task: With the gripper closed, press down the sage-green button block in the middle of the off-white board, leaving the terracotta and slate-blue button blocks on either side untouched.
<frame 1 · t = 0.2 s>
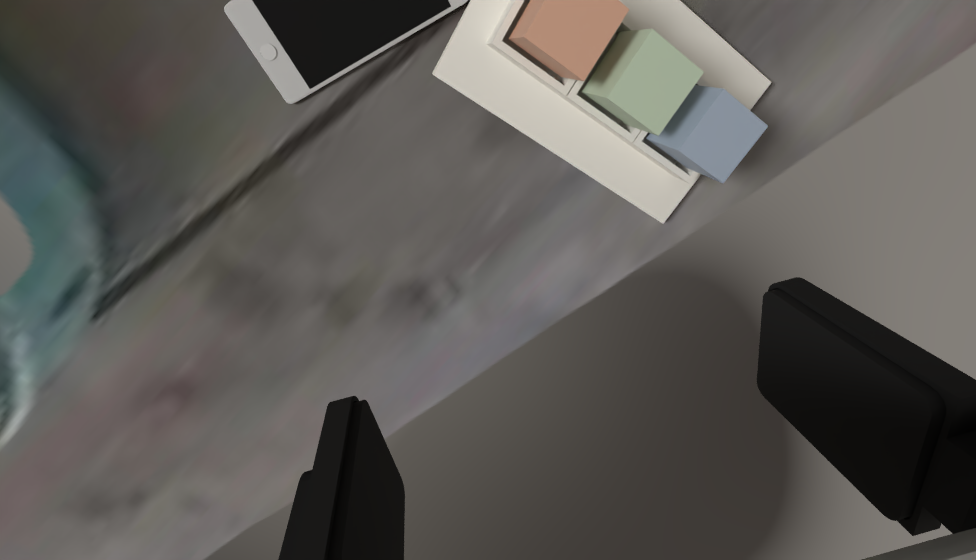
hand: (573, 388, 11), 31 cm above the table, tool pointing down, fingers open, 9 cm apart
slate button: (703, 132, 34), point 6 cm above the table, slide at 0.0 cm
smartphone: (351, 4, 33), on the table
terracotta button: (564, 25, 30), point 6 cm above the table, slide at 0.0 cm
board: (606, 77, 37), on the table
sage button: (638, 82, 32), point 6 cm above the table, slide at 0.0 cm
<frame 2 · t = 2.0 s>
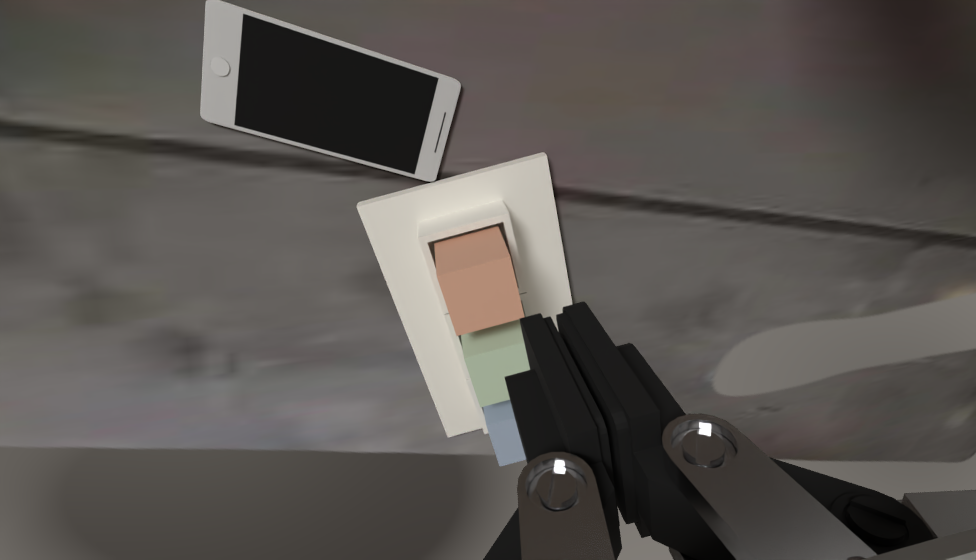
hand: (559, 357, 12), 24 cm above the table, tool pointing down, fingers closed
slate button: (516, 415, 38), point 6 cm above the table, slide at 0.0 cm
smartphone: (335, 98, 31), on the table
terracotta button: (477, 279, 31), point 6 cm above the table, slide at 0.0 cm
board: (488, 310, 40), on the table
sage button: (498, 353, 35), point 6 cm above the table, slide at 0.0 cm
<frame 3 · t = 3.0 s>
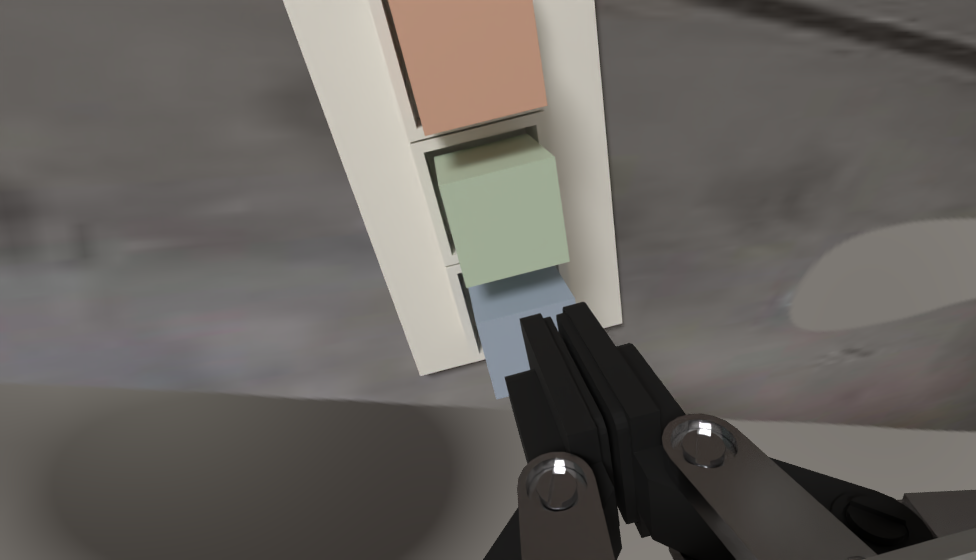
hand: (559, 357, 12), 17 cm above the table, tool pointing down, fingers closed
slate button: (523, 322, 24), point 6 cm above the table, slide at 0.0 cm
terracotta button: (465, 50, 18), point 6 cm above the table, slide at 0.0 cm
board: (481, 173, 26), on the table
sage button: (498, 206, 21), point 6 cm above the table, slide at 0.0 cm
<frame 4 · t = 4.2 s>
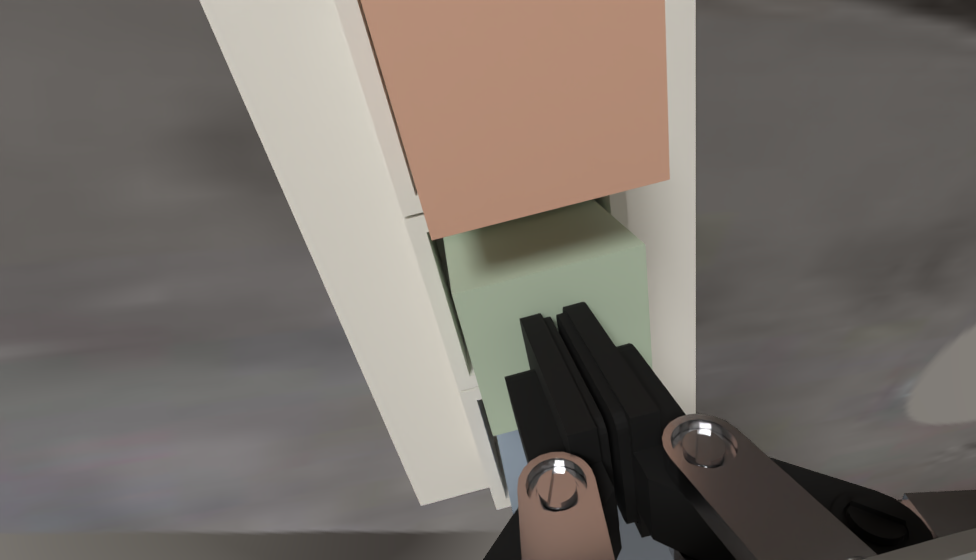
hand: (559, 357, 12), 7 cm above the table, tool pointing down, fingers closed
slate button: (577, 478, 16), point 6 cm above the table, slide at 0.0 cm
terracotta button: (504, 70, 10), point 6 cm above the table, slide at 0.0 cm
board: (510, 241, 18), on the table
sage button: (539, 300, 14), point 5 cm above the table, slide at 1.3 cm, touching gripper
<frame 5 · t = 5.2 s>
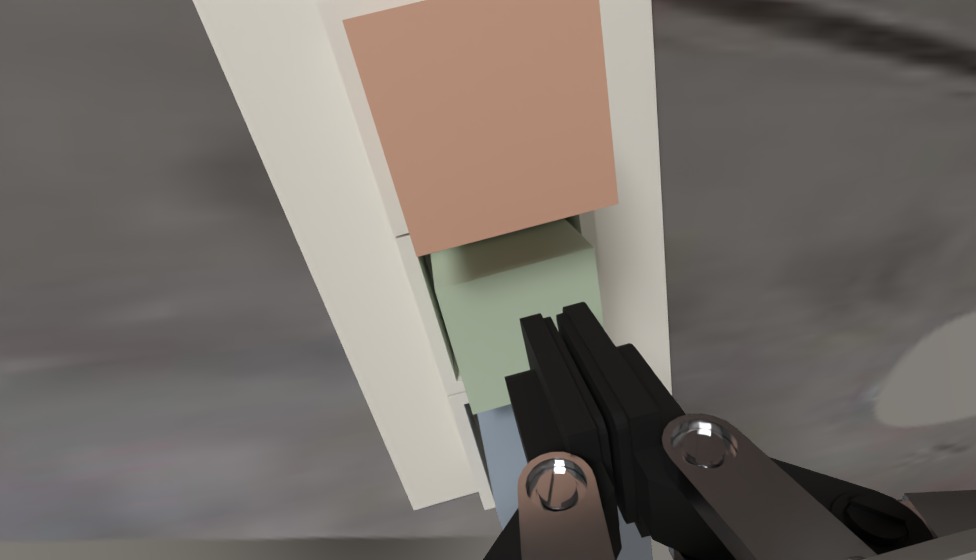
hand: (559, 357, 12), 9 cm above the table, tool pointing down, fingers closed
slate button: (557, 475, 17), point 6 cm above the table, slide at 0.0 cm
terracotta button: (479, 111, 11), point 6 cm above the table, slide at 0.0 cm
board: (494, 257, 20), on the table
sage button: (512, 298, 16), point 4 cm above the table, slide at 2.1 cm
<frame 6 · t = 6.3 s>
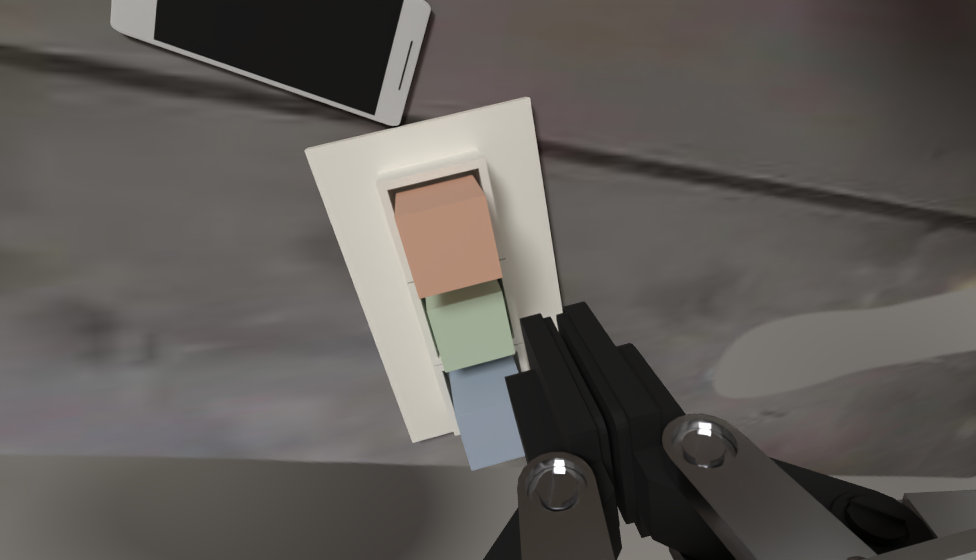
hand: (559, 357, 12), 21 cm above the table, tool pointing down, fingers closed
slate button: (492, 409, 32), point 6 cm above the table, slide at 0.0 cm
smartphone: (281, 18, 26), on the table
terracotta button: (447, 233, 26), point 6 cm above the table, slide at 0.0 cm
board: (461, 289, 34), on the table
sage button: (467, 314, 31), point 4 cm above the table, slide at 2.1 cm
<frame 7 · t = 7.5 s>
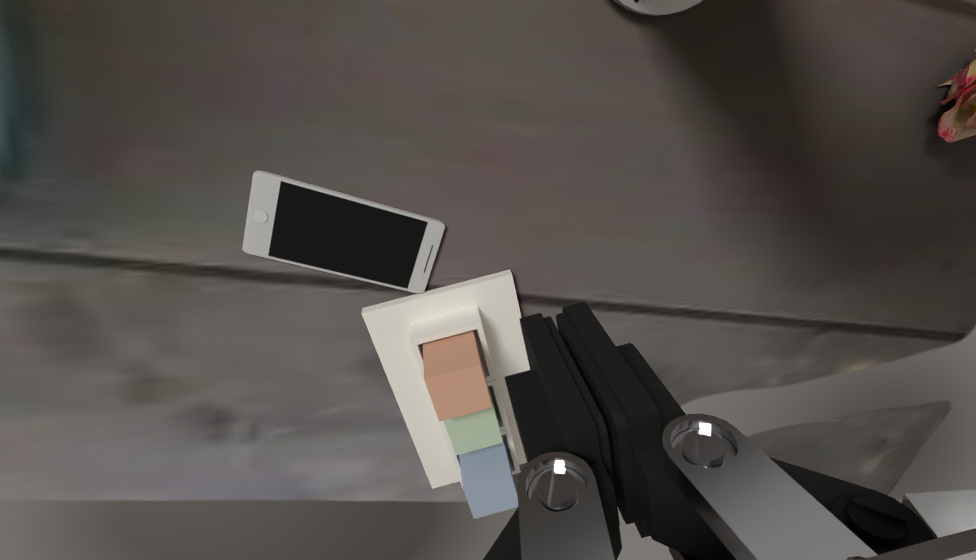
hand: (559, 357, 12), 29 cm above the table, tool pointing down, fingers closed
flower: (957, 89, 42), on the table
slate button: (488, 475, 46), point 6 cm above the table, slide at 0.0 cm
smartphone: (347, 233, 40), on the table
terracotta button: (456, 374, 40), point 6 cm above the table, slide at 0.0 cm
board: (466, 387, 49), on the table
sage button: (471, 412, 45), point 4 cm above the table, slide at 2.1 cm
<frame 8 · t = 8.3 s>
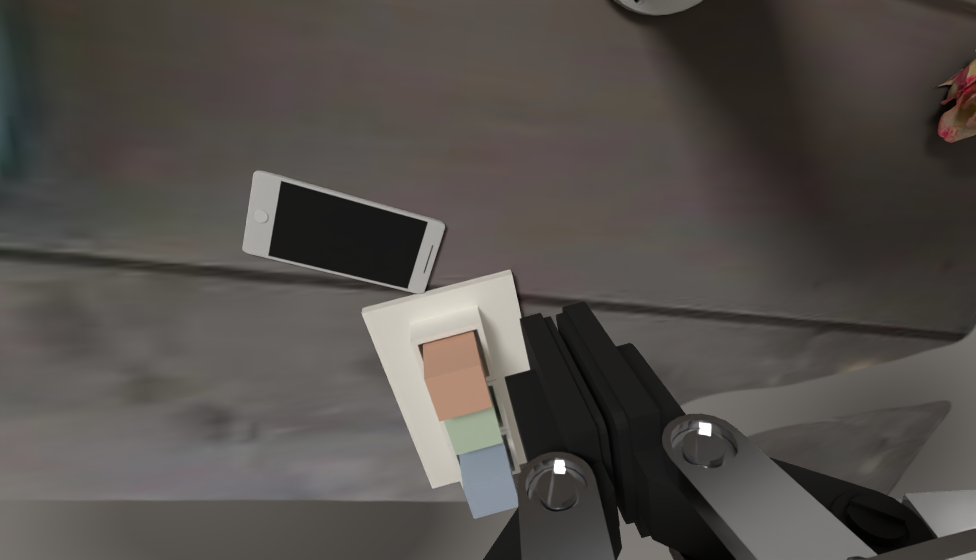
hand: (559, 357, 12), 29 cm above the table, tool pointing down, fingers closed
flower: (957, 89, 42), on the table
slate button: (488, 475, 46), point 6 cm above the table, slide at 0.0 cm
smartphone: (347, 233, 40), on the table
terracotta button: (456, 374, 40), point 6 cm above the table, slide at 0.0 cm
board: (466, 387, 49), on the table
sage button: (471, 412, 45), point 4 cm above the table, slide at 2.1 cm
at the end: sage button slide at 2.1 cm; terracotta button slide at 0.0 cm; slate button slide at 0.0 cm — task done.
